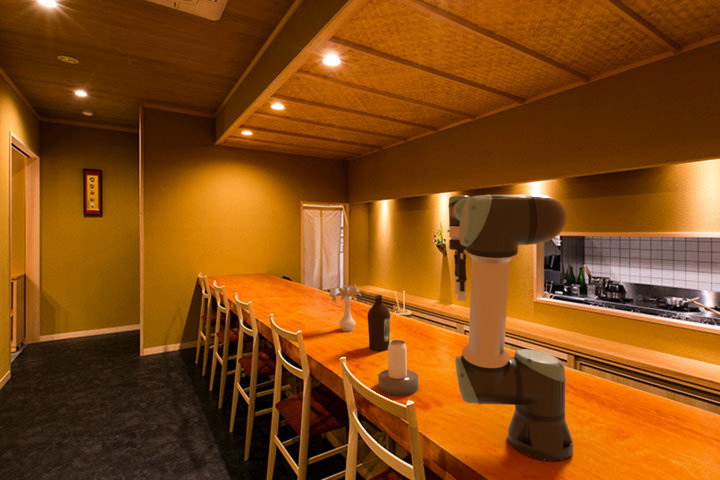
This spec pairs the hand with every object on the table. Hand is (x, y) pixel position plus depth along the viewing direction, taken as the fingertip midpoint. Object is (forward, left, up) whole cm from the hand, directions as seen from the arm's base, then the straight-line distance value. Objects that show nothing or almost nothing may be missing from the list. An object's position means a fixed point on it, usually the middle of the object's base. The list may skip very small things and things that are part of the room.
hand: (460, 297), depth 136 cm
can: (-9, +23, -27) cm, 36 cm away
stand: (-9, +23, -31) cm, 39 cm away
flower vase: (+62, +55, -31) cm, 88 cm away
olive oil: (+33, +34, -31) cm, 57 cm away
